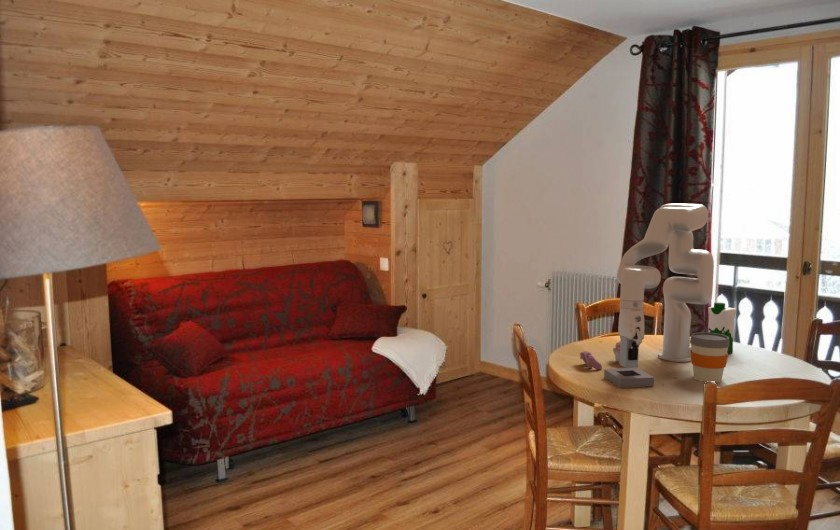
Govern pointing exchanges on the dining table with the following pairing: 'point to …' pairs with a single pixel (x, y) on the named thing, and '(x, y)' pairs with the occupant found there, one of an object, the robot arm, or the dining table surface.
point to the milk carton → (722, 322)
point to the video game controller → (590, 360)
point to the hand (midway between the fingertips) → (629, 357)
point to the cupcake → (617, 351)
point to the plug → (626, 354)
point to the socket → (628, 377)
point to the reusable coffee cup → (709, 355)
